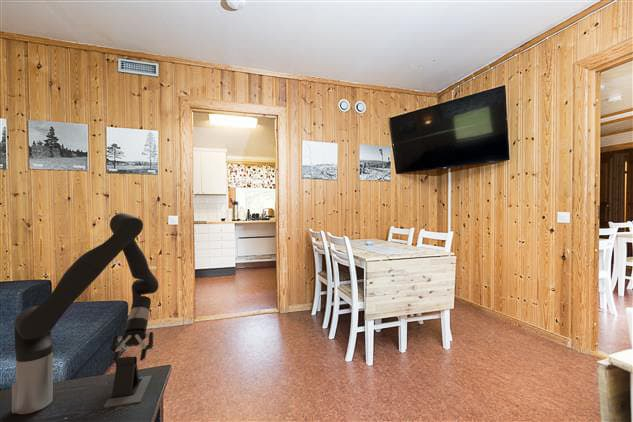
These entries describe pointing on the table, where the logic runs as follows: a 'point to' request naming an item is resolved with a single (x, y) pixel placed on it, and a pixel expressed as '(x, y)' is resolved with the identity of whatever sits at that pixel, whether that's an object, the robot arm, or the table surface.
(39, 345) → the robot arm
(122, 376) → the phone stand
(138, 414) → the table surface
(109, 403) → the bracket
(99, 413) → the table surface
